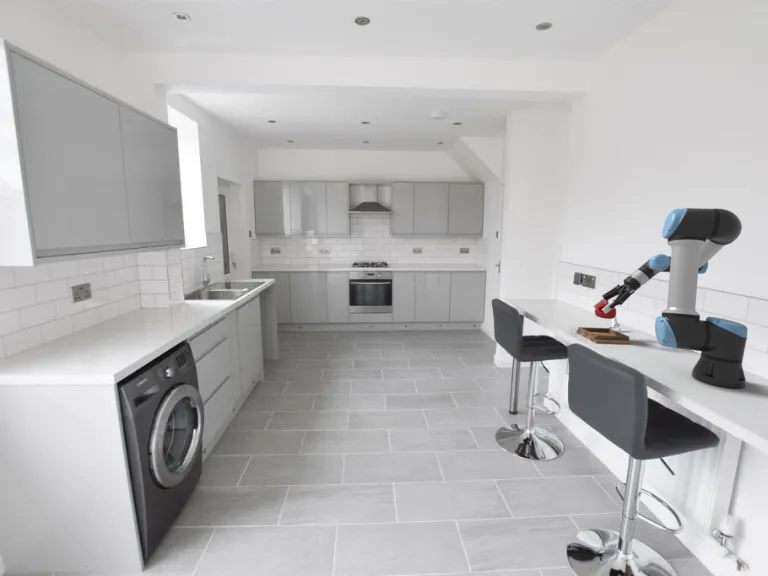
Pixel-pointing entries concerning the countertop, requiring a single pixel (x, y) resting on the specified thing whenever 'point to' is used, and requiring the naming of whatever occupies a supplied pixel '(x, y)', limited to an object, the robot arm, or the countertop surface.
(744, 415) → the countertop surface
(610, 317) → the pomegranate
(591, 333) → the tray
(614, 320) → the hook
